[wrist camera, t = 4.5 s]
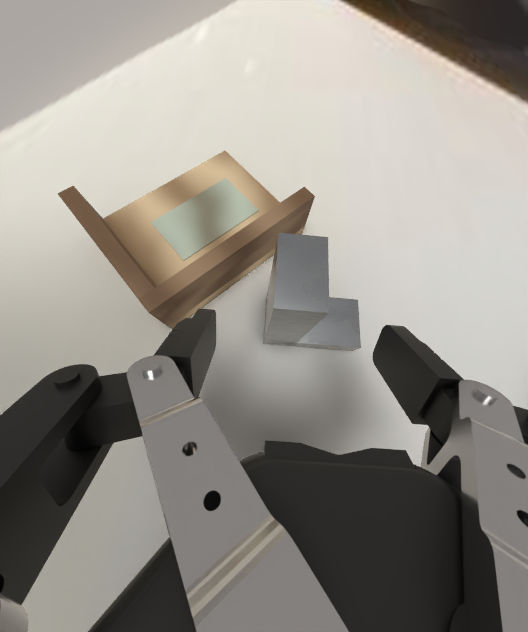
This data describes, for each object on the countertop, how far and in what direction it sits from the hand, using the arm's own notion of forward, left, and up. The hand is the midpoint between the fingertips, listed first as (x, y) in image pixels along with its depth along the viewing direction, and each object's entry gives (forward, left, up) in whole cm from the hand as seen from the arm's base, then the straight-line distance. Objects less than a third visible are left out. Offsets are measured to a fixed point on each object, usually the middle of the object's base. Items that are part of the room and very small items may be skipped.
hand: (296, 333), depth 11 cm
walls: (+2, +13, -8) cm, 16 cm away
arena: (+2, +13, -8) cm, 16 cm away
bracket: (+4, 0, -8) cm, 9 cm away
